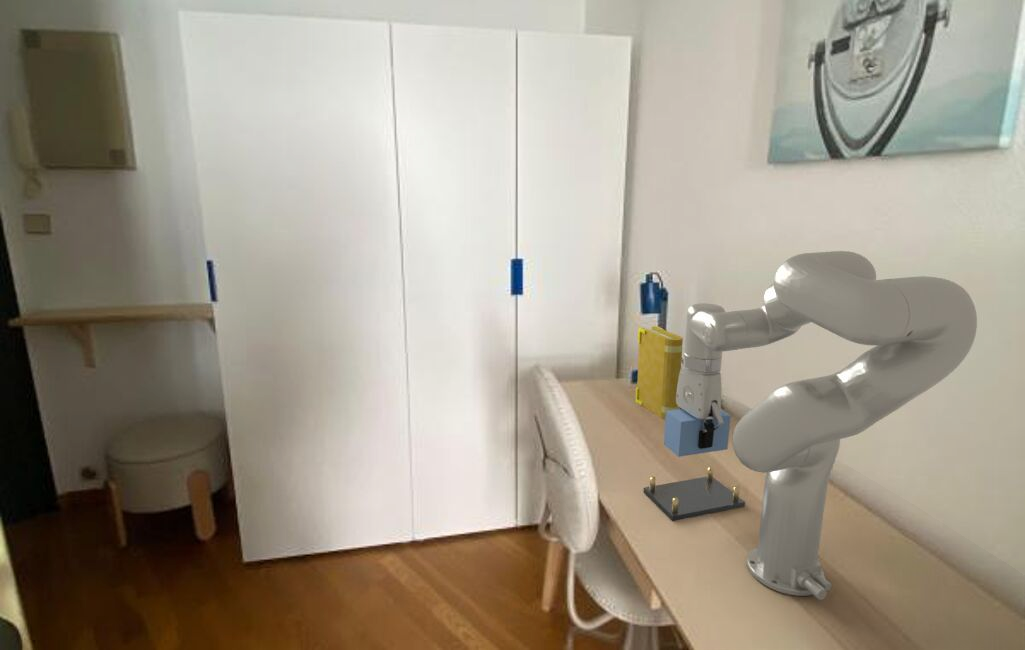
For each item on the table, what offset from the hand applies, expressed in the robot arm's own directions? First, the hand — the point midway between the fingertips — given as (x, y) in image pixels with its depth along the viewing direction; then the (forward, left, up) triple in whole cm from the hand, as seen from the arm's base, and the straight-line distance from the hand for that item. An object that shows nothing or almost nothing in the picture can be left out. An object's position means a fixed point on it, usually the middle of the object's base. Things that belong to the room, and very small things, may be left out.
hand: (695, 439), depth 120 cm
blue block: (0, 0, -2) cm, 2 cm away
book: (+49, -21, -15) cm, 55 cm away
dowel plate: (0, 0, -14) cm, 14 cm away
